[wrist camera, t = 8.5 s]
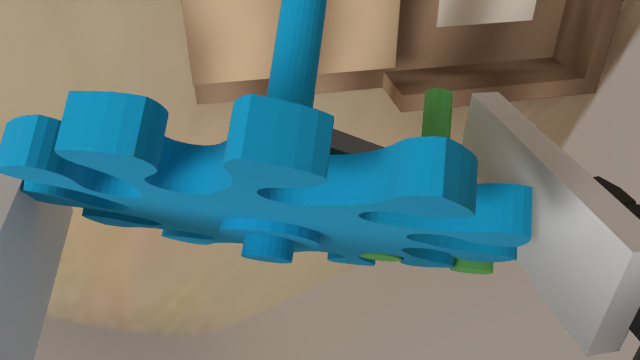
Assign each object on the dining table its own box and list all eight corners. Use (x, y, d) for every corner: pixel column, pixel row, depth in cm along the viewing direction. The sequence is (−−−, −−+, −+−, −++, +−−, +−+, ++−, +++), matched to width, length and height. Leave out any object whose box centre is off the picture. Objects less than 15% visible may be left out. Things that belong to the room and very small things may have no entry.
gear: (-36, 226, 12) (41, 144, 4) (30, -6, 14) (181, -384, 6) (347, 291, 18) (677, 308, 10) (366, 124, 20) (669, 25, 12)
